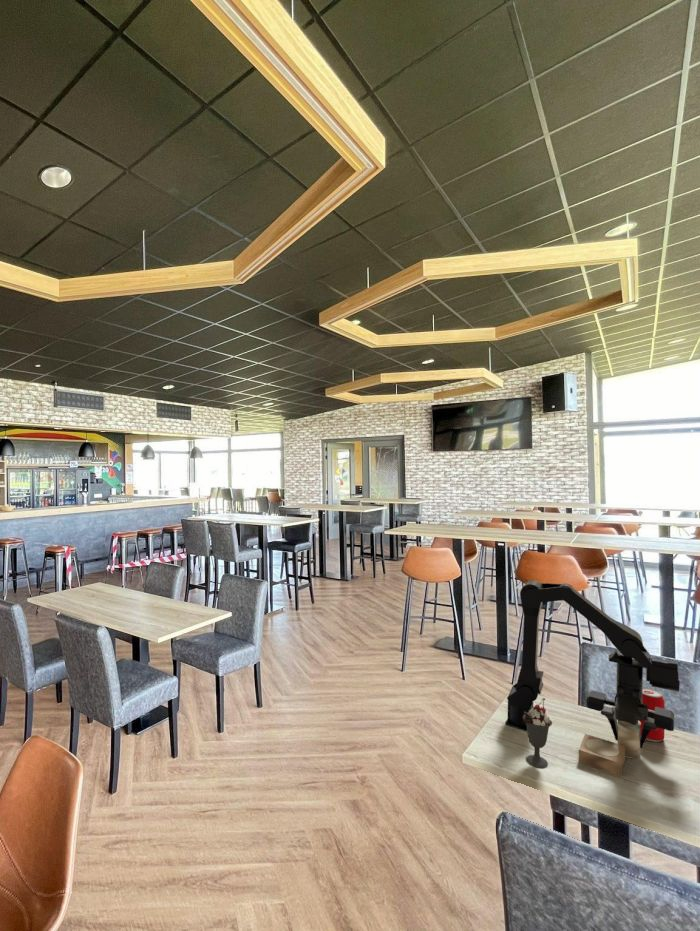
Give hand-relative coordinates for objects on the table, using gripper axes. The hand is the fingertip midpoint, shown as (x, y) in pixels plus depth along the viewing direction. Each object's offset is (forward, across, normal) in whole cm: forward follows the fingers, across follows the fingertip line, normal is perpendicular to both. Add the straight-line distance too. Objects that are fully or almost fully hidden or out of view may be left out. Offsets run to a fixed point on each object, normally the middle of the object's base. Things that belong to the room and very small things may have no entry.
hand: (628, 743), depth 118 cm
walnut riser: (+2, -5, -8) cm, 10 cm away
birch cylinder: (+2, 0, 0) cm, 2 cm away
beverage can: (+2, +4, +12) cm, 13 cm away
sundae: (+2, -18, -19) cm, 26 cm away
